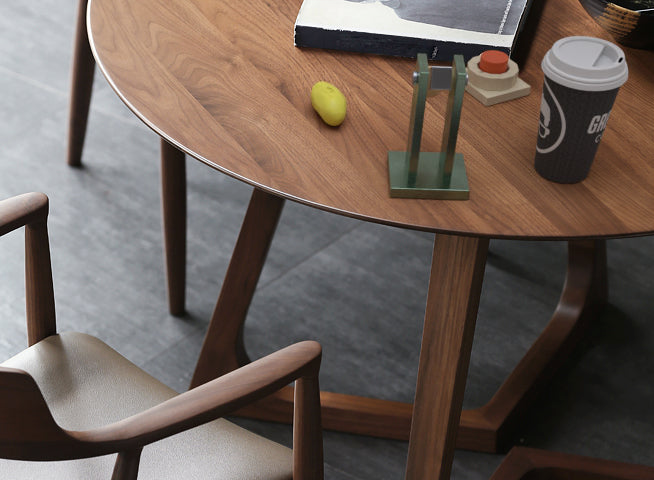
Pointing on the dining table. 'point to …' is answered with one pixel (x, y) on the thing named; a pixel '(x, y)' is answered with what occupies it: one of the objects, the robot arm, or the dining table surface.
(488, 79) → the button box
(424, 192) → the bracket
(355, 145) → the dining table surface
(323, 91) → the lemon
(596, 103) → the coffee cup
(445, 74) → the lever
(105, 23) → the dining table surface
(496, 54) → the button
